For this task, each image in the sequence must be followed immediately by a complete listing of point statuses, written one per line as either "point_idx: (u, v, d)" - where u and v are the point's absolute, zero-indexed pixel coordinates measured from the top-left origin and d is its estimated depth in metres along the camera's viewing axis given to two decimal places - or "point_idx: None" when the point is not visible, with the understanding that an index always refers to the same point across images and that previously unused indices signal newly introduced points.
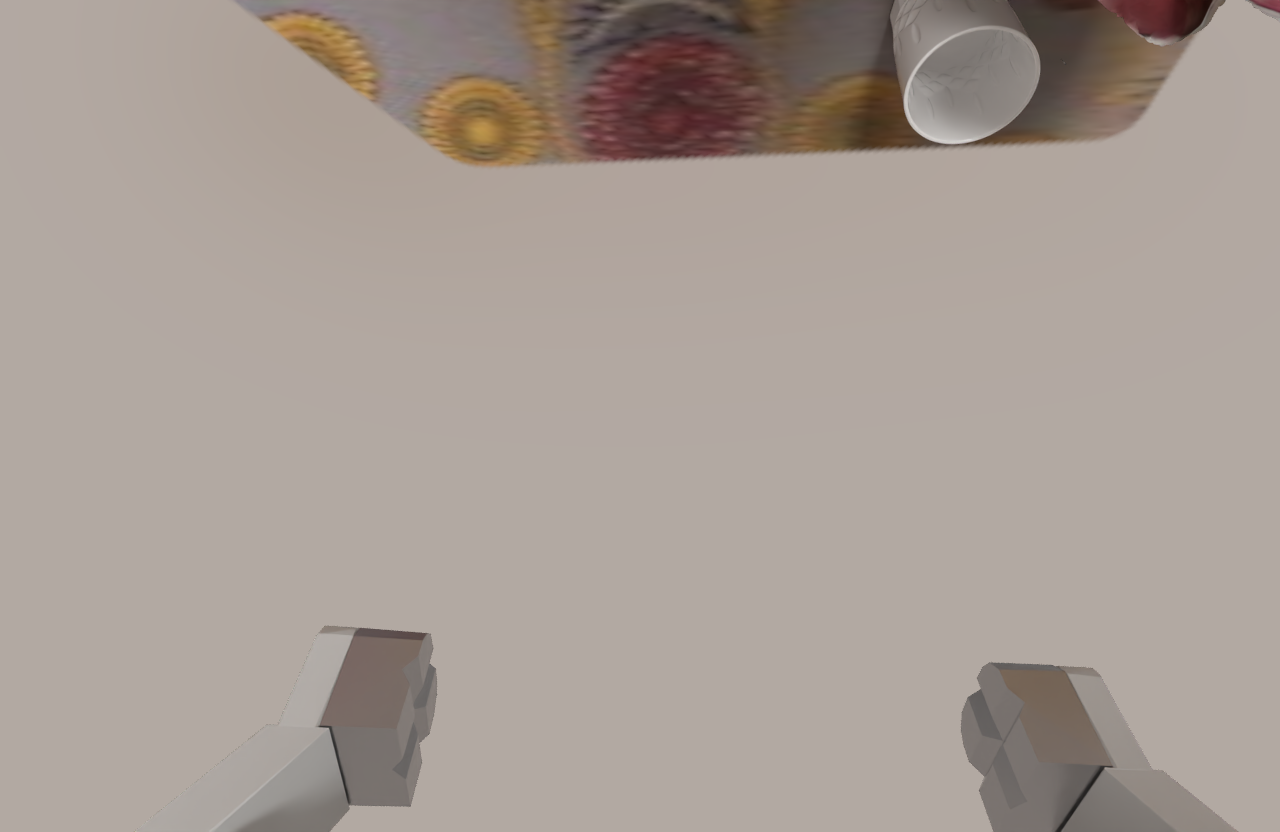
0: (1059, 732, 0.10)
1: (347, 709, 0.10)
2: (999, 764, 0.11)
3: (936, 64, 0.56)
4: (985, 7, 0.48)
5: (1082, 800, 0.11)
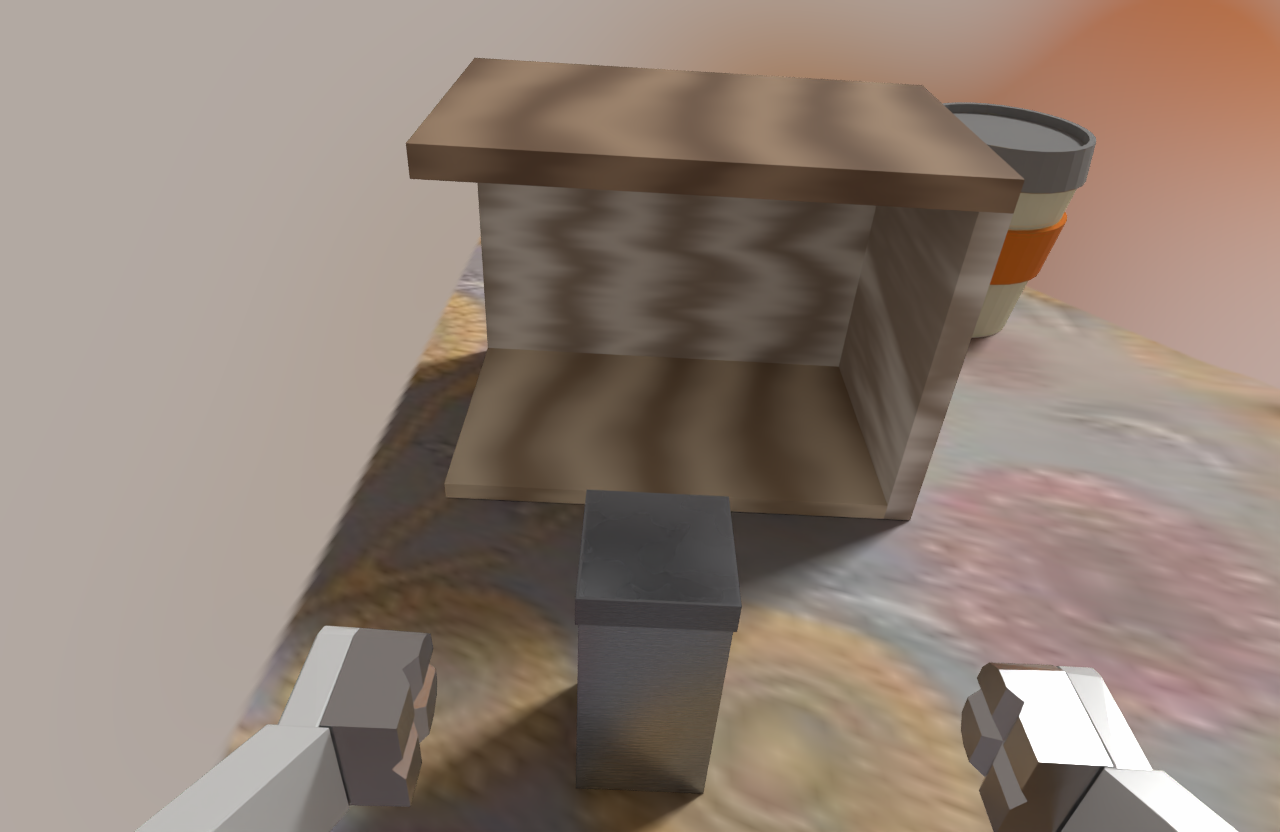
0: (1059, 732, 0.10)
1: (347, 709, 0.10)
2: (999, 764, 0.11)
3: None
4: None
5: (1082, 800, 0.11)
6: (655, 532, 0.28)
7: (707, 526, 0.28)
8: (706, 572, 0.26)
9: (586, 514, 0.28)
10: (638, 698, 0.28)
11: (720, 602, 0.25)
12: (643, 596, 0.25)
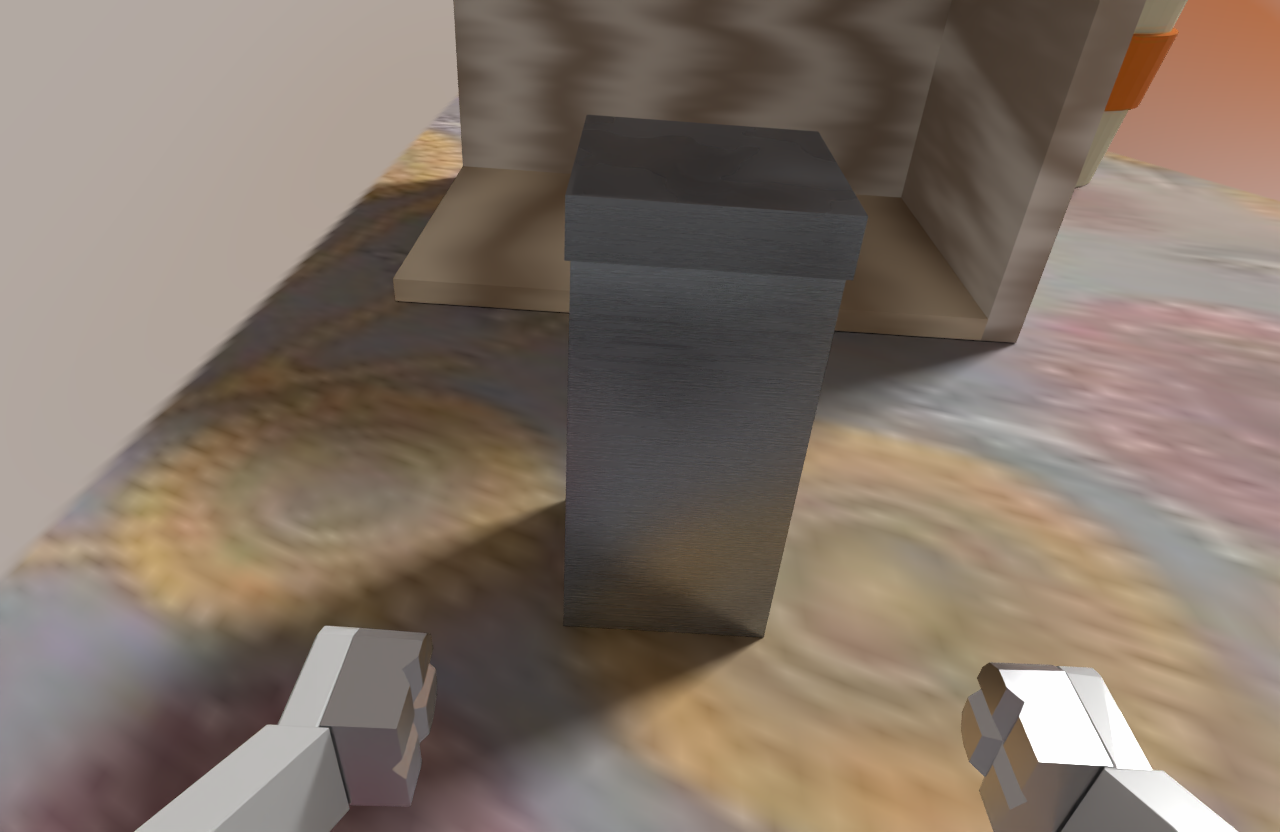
0: (1059, 732, 0.10)
1: (347, 708, 0.10)
2: (999, 764, 0.11)
3: None
4: None
5: (1082, 799, 0.11)
6: (703, 149, 0.16)
7: (789, 150, 0.17)
8: (796, 184, 0.15)
9: (586, 131, 0.17)
10: (670, 439, 0.17)
11: (828, 210, 0.14)
12: (689, 198, 0.14)
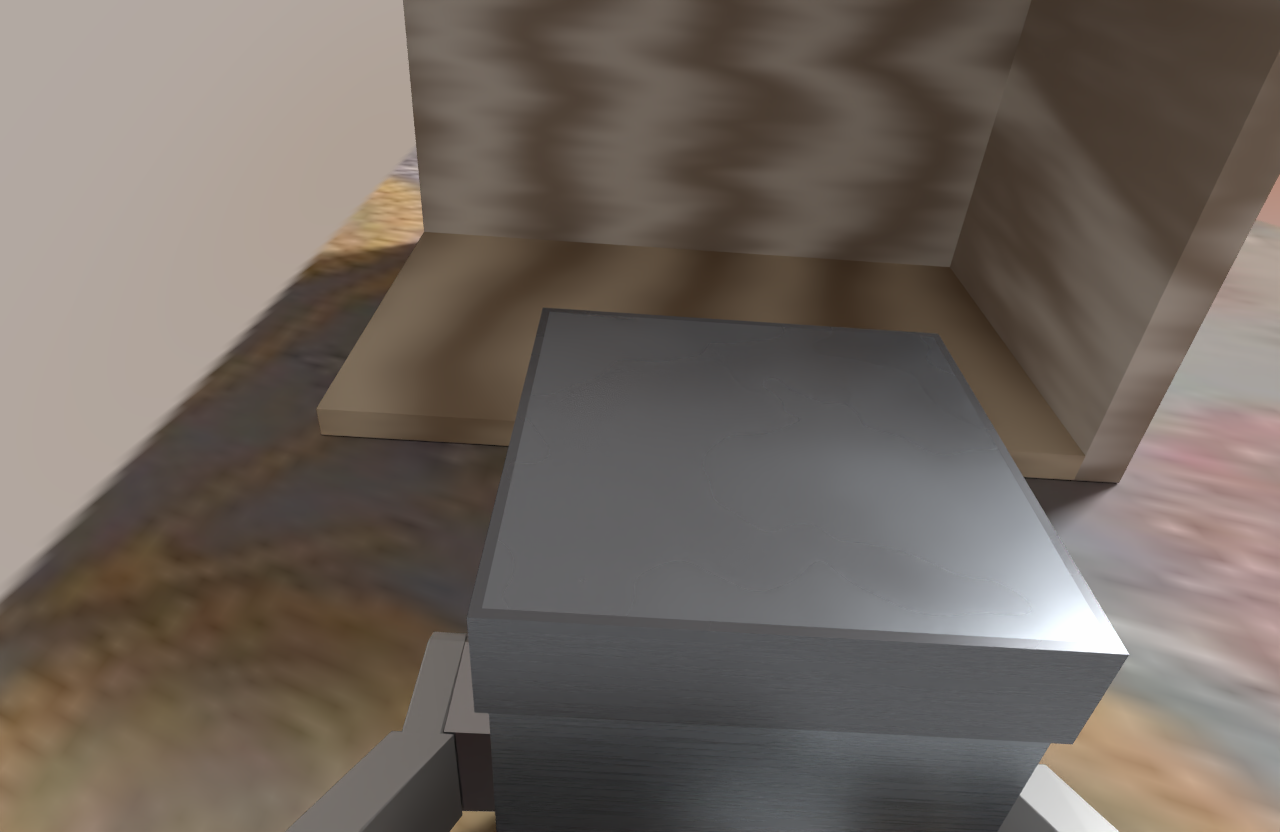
0: None
1: (469, 715, 0.10)
2: None
3: None
4: None
5: None
6: (750, 408, 0.09)
7: (904, 397, 0.09)
8: (946, 524, 0.07)
9: (537, 360, 0.09)
10: None
11: (1039, 636, 0.06)
12: (737, 609, 0.06)
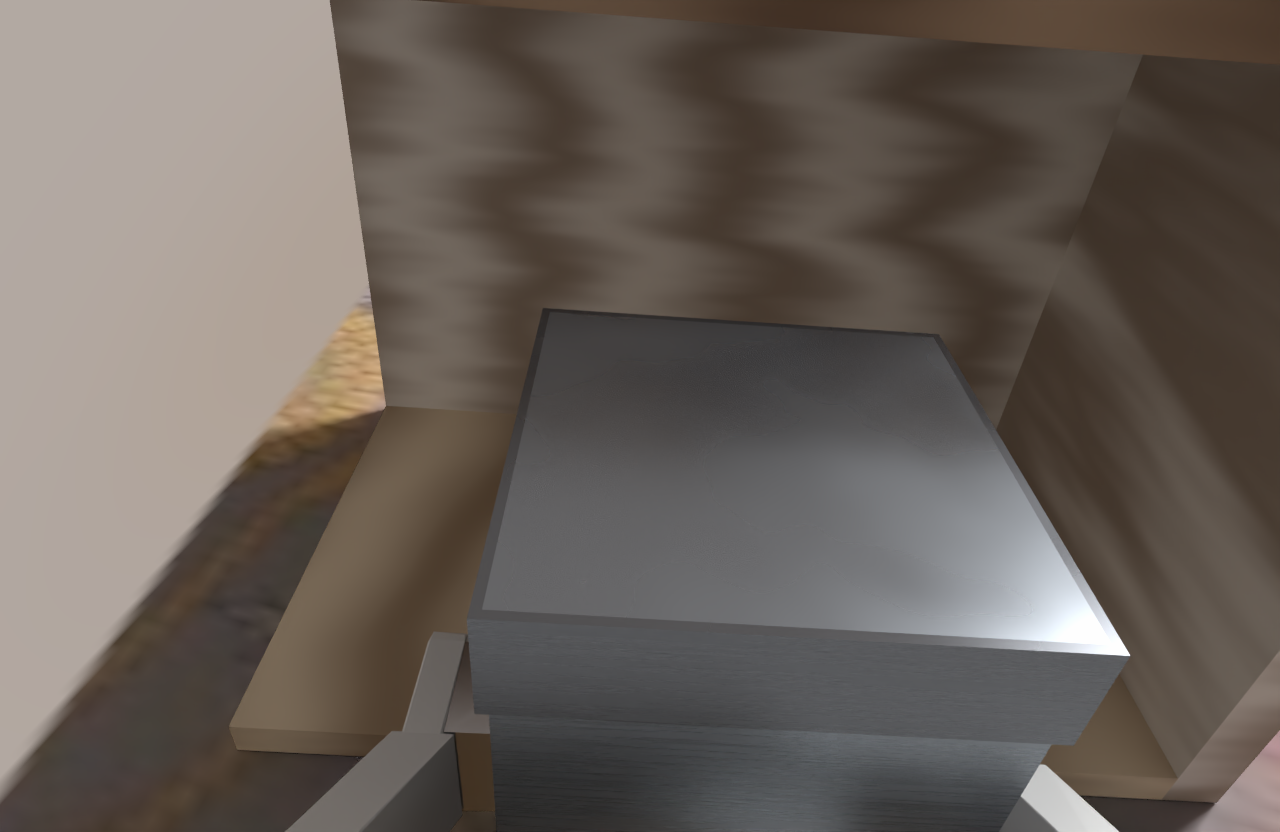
0: None
1: (469, 715, 0.10)
2: None
3: None
4: None
5: None
6: (750, 409, 0.09)
7: (904, 398, 0.09)
8: (947, 527, 0.07)
9: (537, 360, 0.09)
10: None
11: (1039, 637, 0.06)
12: (737, 611, 0.06)
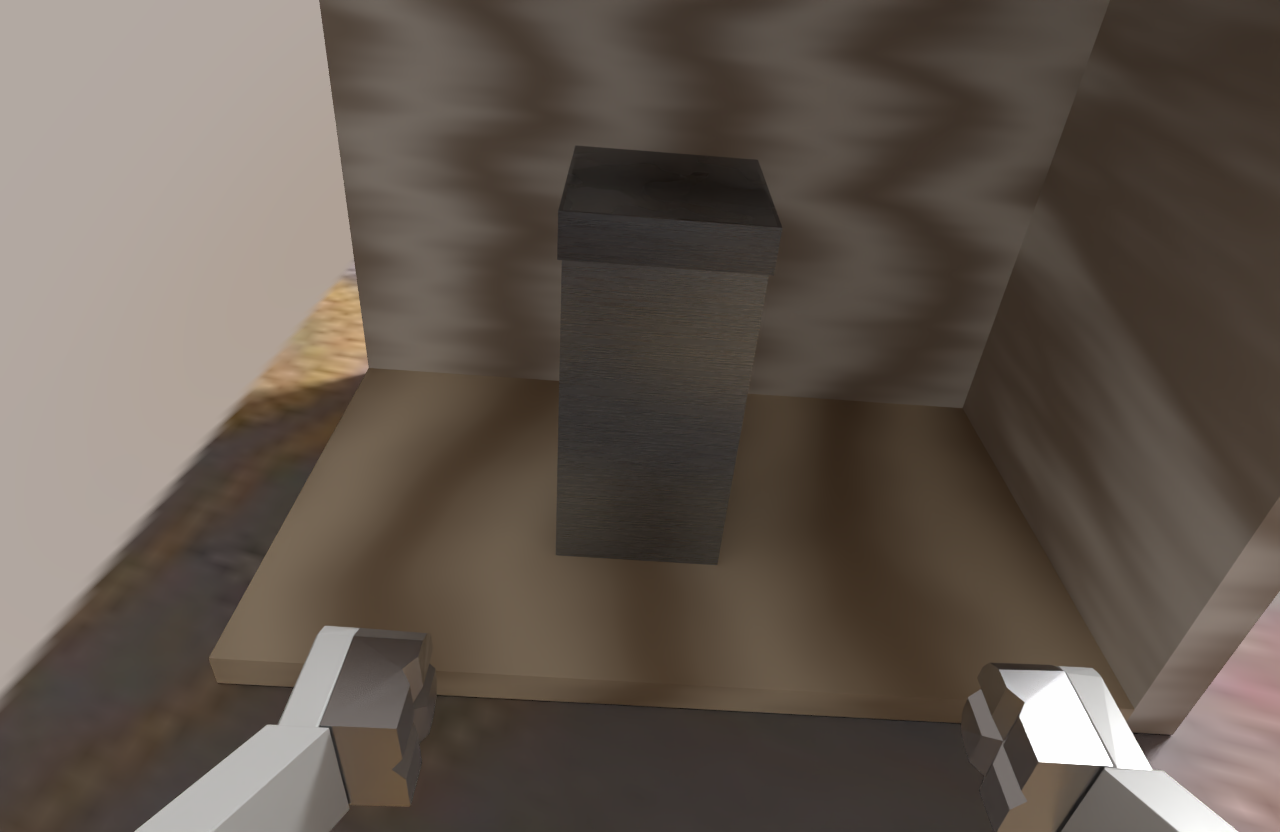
0: (1059, 732, 0.10)
1: (347, 709, 0.10)
2: (999, 764, 0.11)
3: None
4: None
5: (1082, 799, 0.11)
6: (664, 175, 0.21)
7: (732, 175, 0.22)
8: (733, 203, 0.20)
9: (574, 160, 0.22)
10: (639, 399, 0.22)
11: (753, 223, 0.19)
12: (650, 214, 0.19)
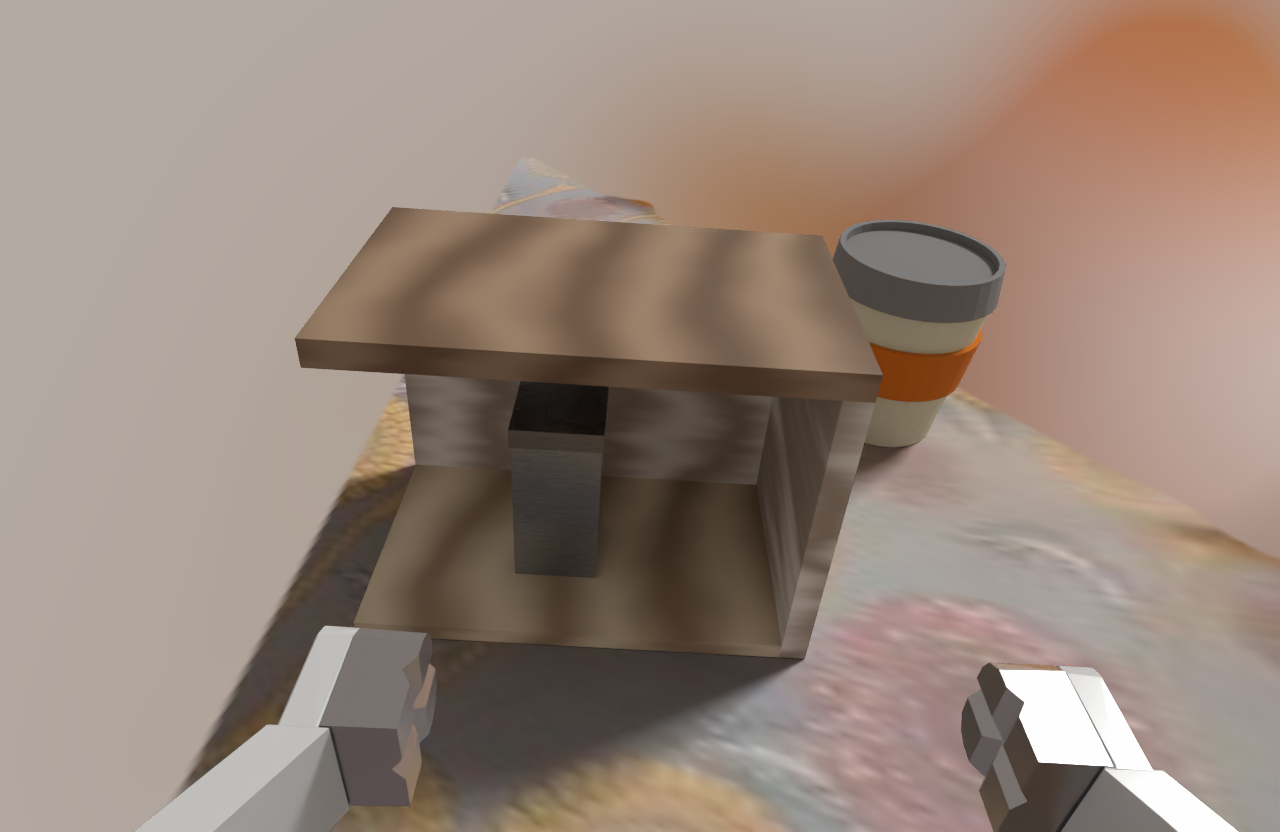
0: (1059, 732, 0.10)
1: (347, 709, 0.10)
2: (999, 764, 0.11)
3: None
4: None
5: (1082, 800, 0.11)
6: (560, 400, 0.46)
7: (592, 398, 0.47)
8: (587, 419, 0.45)
9: (519, 390, 0.47)
10: (549, 502, 0.47)
11: (592, 433, 0.44)
12: (547, 429, 0.44)
